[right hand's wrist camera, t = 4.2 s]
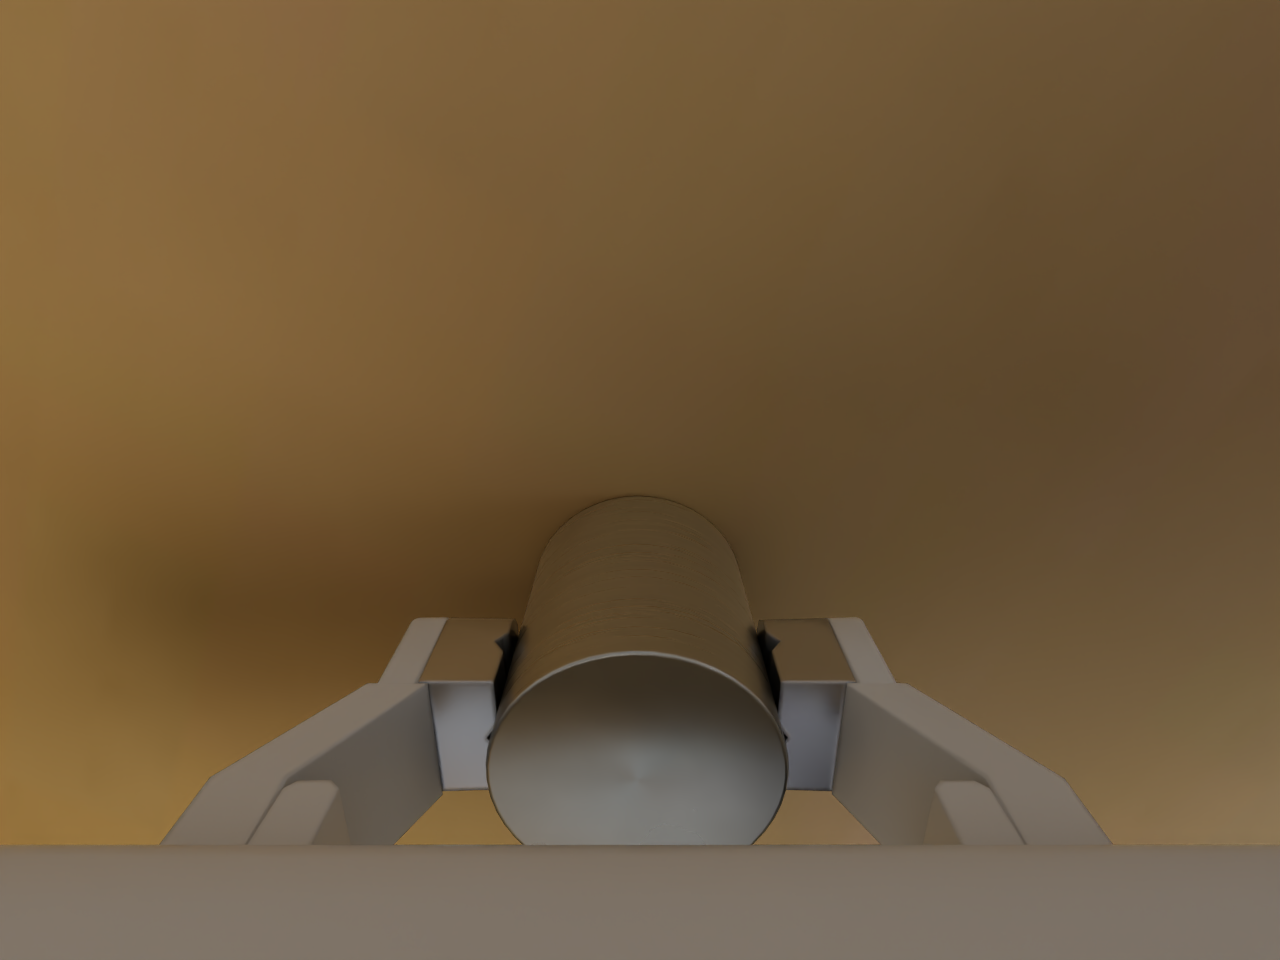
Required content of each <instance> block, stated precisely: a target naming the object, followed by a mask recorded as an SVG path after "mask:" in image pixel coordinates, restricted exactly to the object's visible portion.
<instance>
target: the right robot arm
mask: <svg viewBox="0 0 1280 960" xmlns="http://www.w3.org/2000/svg"><path fill="white" fill-rule="evenodd" d="M518 637H519V634H518V625H517V622H516V620H515V619H495V618H448V617H426V618H416V619H414V620H413V621H412V622H411V623H410V625H409V627H408V629H407V631H406V632H405V634H404V636H403V638H402V640H401V641H400V643H399V645H398V647H397V649H396V651H395V652H394V654H393V656H392V658H391V660H390V661H389V663H388V665H387V667H386V669H385V671H384V672H383V674H382V676H381V678H380V680H379V681H378V683H367V684H365V685H364V686H362V687H360V688H359V689H357V690H355V691H354V692H352V693H350V694H349V695H347V696H345V697H344V698H342V699H340V700H339V701H337V702H335V703H334V704H332V705H330V706H329V707H327V708H325V709H324V710H322V711H320V712H319V713H317V714H315V715H314V716H312V717H310V718H309V719H307V720H305V721H304V722H302V723H300V724H298V725H297V726H295V727H293V728H292V729H290V730H288V731H287V732H285V733H283V734H282V735H280V736H278V737H277V738H275V739H273V740H272V741H270V742H268V743H267V744H265V745H263V746H262V747H260V748H258V749H257V750H255V751H253V752H252V753H250V754H248V755H247V756H245V757H243V758H242V759H240V760H238V761H237V762H235V763H233V764H232V765H230V766H228V767H227V768H225V769H223V770H221V771H220V772H218V773H216V774H215V775H213V776H211V777H210V778H209V779H208V781H207V782H206V783H205V785H204V786H203V787H202V789H201V790H200V791H199V793H198V794H197V795H196V797H195V798H194V799H193V801H192V802H191V803H190V804H189V806H188V807H187V808H186V810H185V811H184V812H183V814H182V815H181V816H180V818H179V819H178V820H177V822H176V823H175V824H174V826H173V827H172V828H171V830H170V831H169V832H168V834H167V835H166V836H165V838H164V839H163V840H162V842H161V843H160V844H159V845H0V960H1280V845H1113V844H1112V842H1111V841H1110V840H1109V838H1108V837H1107V836H1106V834H1105V833H1104V832H1103V830H1102V829H1101V828H1100V826H1099V825H1098V823H1097V822H1096V821H1095V819H1094V818H1093V817H1092V815H1091V814H1090V813H1089V811H1088V810H1087V808H1086V807H1085V806H1084V804H1083V803H1082V802H1081V800H1080V799H1079V798H1078V796H1077V795H1076V794H1075V792H1074V791H1073V789H1072V788H1071V787H1070V785H1069V784H1068V783H1067V781H1066V780H1065V779H1064V778H1063V777H1061V776H1059V775H1058V774H1056V773H1055V772H1053V771H1051V770H1050V769H1048V768H1046V767H1045V766H1043V765H1041V764H1040V763H1038V762H1036V761H1035V760H1033V759H1031V758H1030V757H1028V756H1026V755H1025V754H1023V753H1021V752H1020V751H1018V750H1016V749H1015V748H1013V747H1012V746H1010V745H1008V744H1007V743H1005V742H1003V741H1002V740H1000V739H998V738H997V737H995V736H993V735H992V734H990V733H988V732H987V731H985V730H983V729H982V728H980V727H978V726H977V725H975V724H973V723H972V722H970V721H969V720H967V719H965V718H964V717H962V716H960V715H959V714H957V713H955V712H954V711H952V710H950V709H949V708H947V707H945V706H944V705H942V704H940V703H939V702H937V701H935V700H934V699H932V698H930V697H929V696H927V695H925V694H924V693H922V692H921V691H919V690H917V689H916V688H914V687H912V686H911V685H909V684H907V683H897V682H896V681H895V679H894V677H893V675H892V673H891V672H890V670H889V668H888V666H887V664H886V662H885V661H884V659H883V657H882V655H881V653H880V651H879V650H878V648H877V646H876V644H875V642H874V640H873V639H872V637H871V635H870V633H869V631H868V629H867V628H866V626H865V624H864V622H863V620H862V619H860V618H858V617H842V618H822V619H780V620H759V623H758V628H757V638H758V641H759V645H760V649H761V652H762V656H763V660H764V664H765V667H766V671H767V675H768V678H769V682H770V686H771V689H772V693H773V697H774V701H775V704H776V708H777V712H778V715H779V719H780V723H781V727H782V730H783V734H784V738H785V741H786V747H787V752H788V757H789V775H788V781H787V788H786V790H813V791H832V794H833V795H834V796H835V797H836V798H837V800H838V801H839V802H840V803H841V804H842V805H843V806H844V807H845V808H846V809H847V810H848V811H849V812H850V813H851V814H852V815H853V816H854V817H855V818H856V819H857V820H858V821H859V822H860V823H861V824H862V825H863V826H864V827H865V829H866V830H867V831H868V832H869V833H870V834H871V835H872V836H873V837H874V838H875V839H876V840H877V841H878V842H879V843H880V844H881V845H394V844H395V843H396V842H397V841H398V840H399V839H400V838H401V837H402V836H403V835H404V833H405V832H406V831H407V830H408V829H409V828H410V827H411V826H412V825H413V824H414V823H415V822H416V821H417V820H418V819H419V818H420V817H421V816H422V815H423V814H424V813H425V812H426V811H427V810H428V809H429V808H430V807H431V806H432V805H433V804H434V803H435V802H436V801H437V800H438V799H439V798H440V797H441V796H442V795H443V793H442V791H461V790H489V788H488V784H487V780H486V755H487V747H488V744H489V740H490V737H491V733H492V730H493V726H494V722H495V719H496V715H497V712H498V708H499V705H500V701H501V697H502V694H503V690H504V687H505V683H506V680H507V676H508V672H509V669H510V665H511V662H512V658H513V655H514V651H515V647H516V644H517V640H518Z"/></svg>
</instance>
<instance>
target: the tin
mask: <svg viewBox="0 0 1280 960" xmlns="http://www.w3.org/2000/svg"><path fill="white" fill-rule="evenodd" d="M788 775H789V757H788V752H787V747H786V741H785V738H784V734H783V730H782V727H781V723H780V719H779V715H778V712H777V708H776V704H775V701H774V697H773V693H772V689H771V686H770V682H769V678H768V675H767V671H766V667H765V664H764V660H763V656H762V652H761V649H760V645H759V641H758V638H757V634H756V630H755V626H754V623H753V619H752V615H751V612H750V608H749V604H748V600H747V597H746V593H745V589H744V586H743V582H742V578H741V574H740V571H739V567H738V564H737V561H736V558H735V555H734V553H733V551H732V549H731V547H730V545H729V544H728V542H727V541H726V539H725V538H724V536H723V535H722V534H721V532H720V531H719V530H718V529H717V528H716V527H715V526H714V525H713V524H712V523H711V522H709V521H708V520H707V519H705V518H704V517H703V516H702V515H700V514H698V513H697V512H695V511H693V510H691V509H690V508H688V507H685V506H683V505H680V504H678V503H675V502H672V501H668V500H665V499H660V498H653V497H639V496H633V497H622V498H617V499H612V500H607V501H604V502H601V503H598V504H595V505H593V506H591V507H589V508H587V509H585V510H583V511H581V512H580V513H578V514H577V515H575V516H573V517H572V518H570V519H569V520H568V521H567V522H566V523H565V524H564V525H562V526H561V527H560V528H559V530H558V531H557V532H556V533H555V534H554V535H553V537H552V538H551V540H550V541H549V543H548V544H547V546H546V547H545V550H544V552H543V554H542V556H541V558H540V562H539V565H538V569H537V572H536V576H535V580H534V583H533V587H532V590H531V594H530V597H529V601H528V605H527V608H526V612H525V615H524V619H523V622H522V626H521V630H520V633H519V637H518V640H517V644H516V647H515V651H514V655H513V658H512V662H511V665H510V669H509V672H508V676H507V680H506V683H505V687H504V690H503V694H502V697H501V701H500V705H499V708H498V712H497V715H496V719H495V722H494V726H493V730H492V733H491V737H490V740H489V744H488V747H487V755H486V780H487V784H488V788H489V793H490V797H491V799H492V802H493V804H494V806H495V809H496V811H497V813H498V815H499V816H500V818H501V820H502V821H503V823H504V825H505V826H506V827H507V828H508V829H509V831H510V832H511V833H512V834H513V836H514V837H515V838H516V839H517V840H518V841H519V842H520V843H521V844H523V845H752V844H754V843H755V842H756V841H757V839H758V838H759V837H760V836H761V835H762V834H763V833H764V832H765V831H766V829H767V828H768V827H769V825H770V824H771V822H772V821H773V819H774V818H775V816H776V814H777V812H778V810H779V808H780V806H781V804H782V801H783V797H784V794H785V791H786V788H787V781H788Z"/></svg>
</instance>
